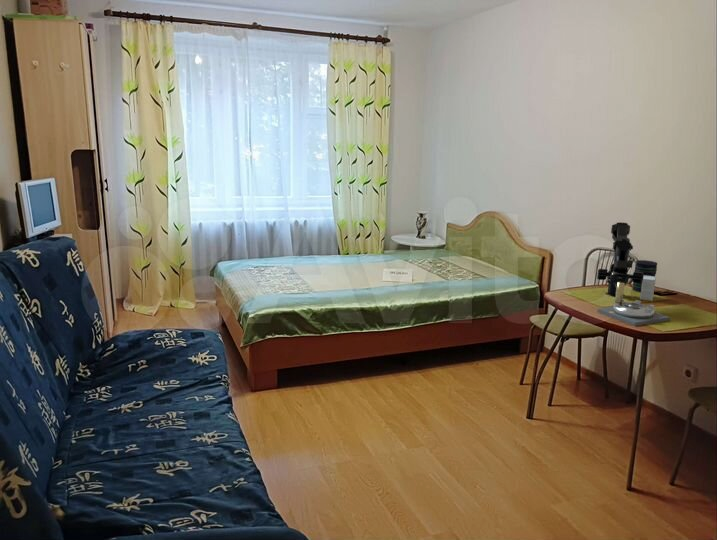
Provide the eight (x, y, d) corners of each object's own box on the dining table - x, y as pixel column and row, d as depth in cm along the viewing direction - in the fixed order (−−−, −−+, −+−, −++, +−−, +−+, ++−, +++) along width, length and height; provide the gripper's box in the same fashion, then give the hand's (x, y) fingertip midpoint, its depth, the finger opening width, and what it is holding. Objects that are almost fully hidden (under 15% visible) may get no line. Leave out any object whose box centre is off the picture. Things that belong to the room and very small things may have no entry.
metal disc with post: (604, 309, 235) (607, 282, 232) (631, 305, 240) (635, 279, 237) (634, 320, 220) (638, 291, 217) (662, 315, 226) (666, 288, 223)
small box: (640, 295, 262) (643, 275, 260) (653, 297, 260) (656, 276, 257) (639, 299, 256) (642, 278, 253) (652, 301, 253) (655, 279, 250)
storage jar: (658, 292, 267) (662, 263, 264) (641, 293, 265) (645, 264, 262) (643, 287, 277) (647, 259, 273) (627, 288, 275) (631, 260, 271)
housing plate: (597, 312, 236) (597, 308, 236) (631, 307, 243) (631, 303, 243) (634, 326, 218) (634, 322, 218) (669, 320, 225) (670, 316, 225)
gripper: (600, 251, 242) (597, 280, 234) (645, 255, 234) (644, 284, 227) (598, 264, 250) (595, 292, 243) (642, 268, 243) (641, 297, 236)
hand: (618, 291), depth 237 cm, fingers closed
